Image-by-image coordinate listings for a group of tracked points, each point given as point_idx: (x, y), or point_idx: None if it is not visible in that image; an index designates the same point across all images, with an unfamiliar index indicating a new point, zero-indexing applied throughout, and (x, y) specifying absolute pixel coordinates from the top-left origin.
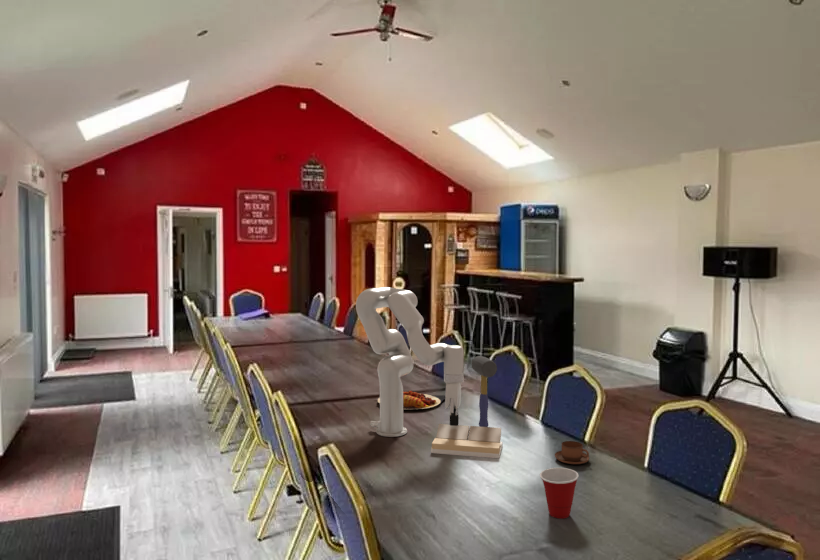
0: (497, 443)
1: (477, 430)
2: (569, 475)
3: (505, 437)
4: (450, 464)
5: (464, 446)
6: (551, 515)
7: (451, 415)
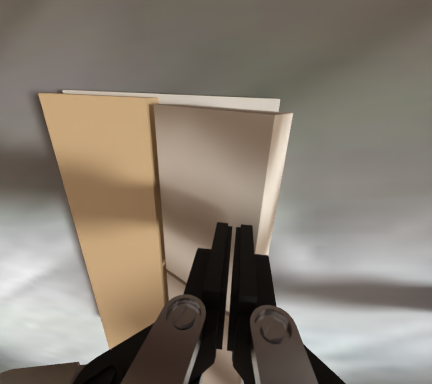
0: None
1: None
2: None
3: (339, 352)
4: (2, 190)
5: (86, 256)
6: None
7: (175, 310)
